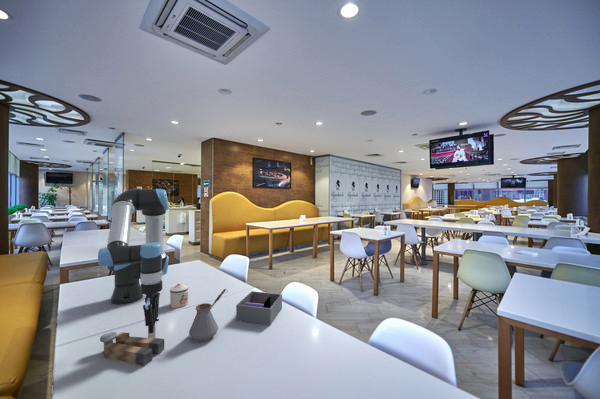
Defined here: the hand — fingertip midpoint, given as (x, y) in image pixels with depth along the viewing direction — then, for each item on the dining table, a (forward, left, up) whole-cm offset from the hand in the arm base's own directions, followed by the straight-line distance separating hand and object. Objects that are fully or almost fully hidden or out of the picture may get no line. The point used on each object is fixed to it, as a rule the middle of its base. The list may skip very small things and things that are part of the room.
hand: (152, 339), depth 101 cm
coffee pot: (+19, +13, -1) cm, 23 cm away
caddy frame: (+34, +32, -1) cm, 46 cm away
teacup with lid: (-13, +33, -1) cm, 36 cm away
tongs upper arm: (-3, -7, -1) cm, 8 cm away
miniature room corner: (+32, +34, -2) cm, 46 cm away
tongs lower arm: (-2, -10, -1) cm, 10 cm away
